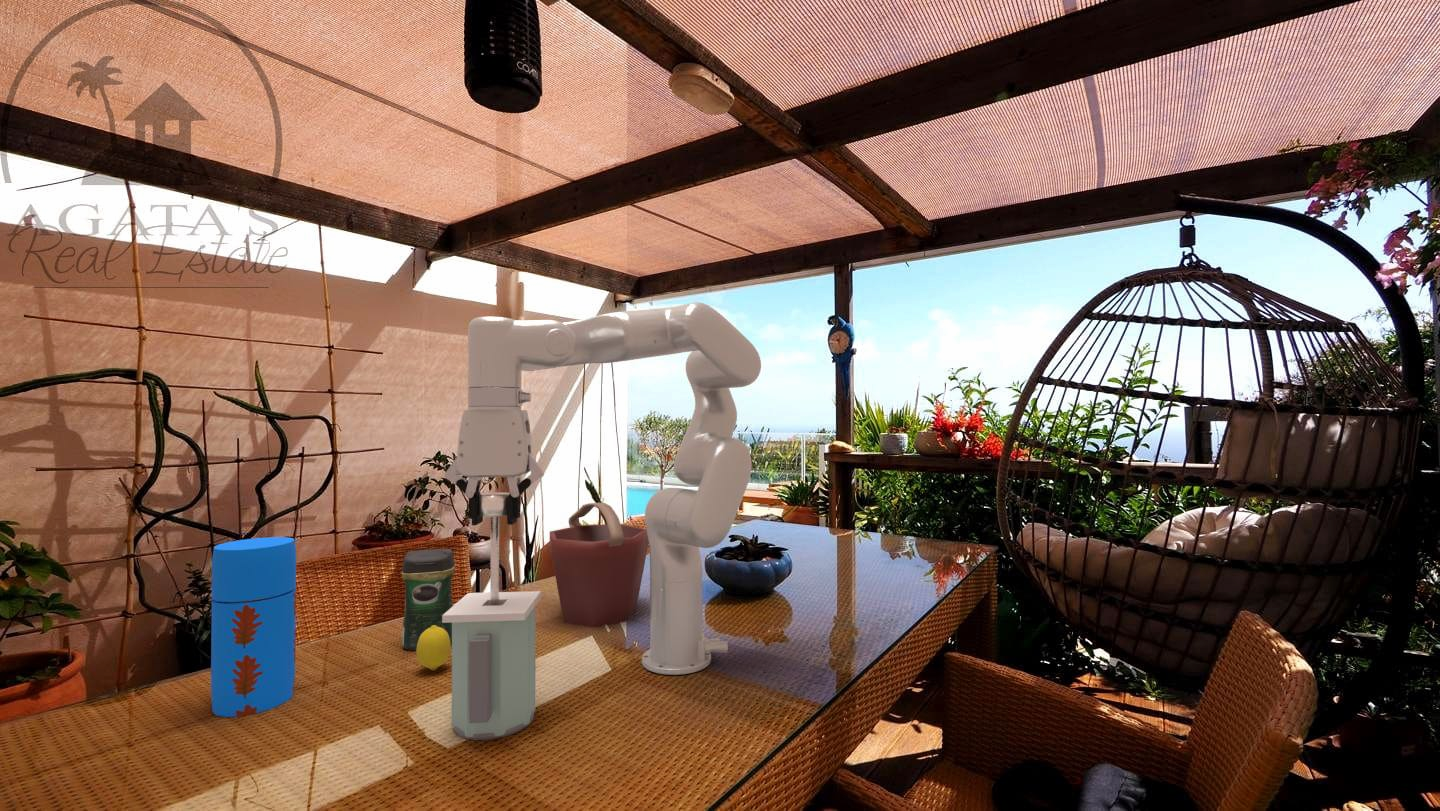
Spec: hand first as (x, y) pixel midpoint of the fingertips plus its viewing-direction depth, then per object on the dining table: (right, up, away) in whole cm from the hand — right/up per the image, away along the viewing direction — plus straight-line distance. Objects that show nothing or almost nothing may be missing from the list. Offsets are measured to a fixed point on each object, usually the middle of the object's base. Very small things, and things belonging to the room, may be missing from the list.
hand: (494, 522), depth 94 cm
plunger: (0, -20, 0) cm, 20 cm away
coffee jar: (-24, -30, +32) cm, 50 cm away
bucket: (+6, -30, +50) cm, 59 cm away
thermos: (-41, -30, +6) cm, 51 cm away
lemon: (-17, -30, +18) cm, 39 cm away
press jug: (0, -29, -2) cm, 29 cm away
